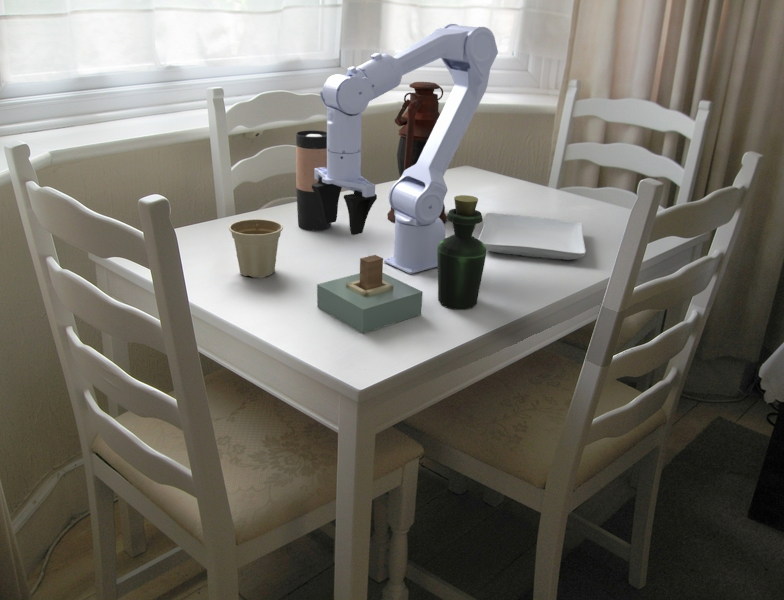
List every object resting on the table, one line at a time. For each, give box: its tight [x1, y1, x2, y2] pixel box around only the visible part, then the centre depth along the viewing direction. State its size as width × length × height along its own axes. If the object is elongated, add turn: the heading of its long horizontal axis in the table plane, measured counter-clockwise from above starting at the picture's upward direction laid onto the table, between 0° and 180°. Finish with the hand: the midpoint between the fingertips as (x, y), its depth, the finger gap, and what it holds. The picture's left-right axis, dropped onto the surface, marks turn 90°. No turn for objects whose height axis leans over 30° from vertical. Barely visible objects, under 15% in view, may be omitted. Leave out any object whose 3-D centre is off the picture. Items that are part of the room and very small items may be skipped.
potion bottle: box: [437, 194, 488, 311], centre depth 116 cm, size 8×8×18 cm
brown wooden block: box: [359, 254, 384, 291], centre depth 113 cm, size 2×3×8 cm, turn 130°
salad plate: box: [477, 212, 587, 261], centre depth 149 cm, size 21×21×3 cm
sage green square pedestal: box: [316, 272, 424, 334], centre depth 114 cm, size 12×12×5 cm
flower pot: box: [228, 218, 284, 279], centre depth 127 cm, size 9×9×9 cm
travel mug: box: [295, 129, 332, 232], centre depth 151 cm, size 8×8×20 cm
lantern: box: [387, 81, 448, 225], centre depth 157 cm, size 17×14×30 cm
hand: (343, 227), depth 124 cm, fingers open, 7 cm apart
